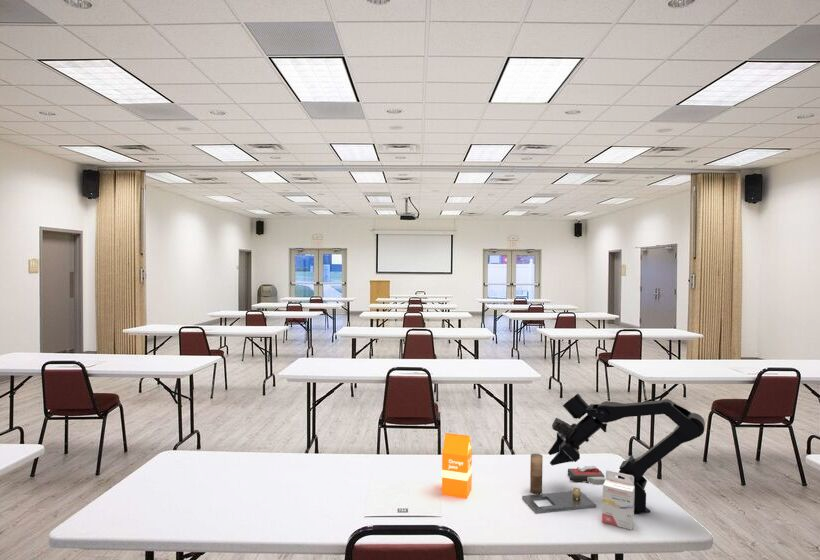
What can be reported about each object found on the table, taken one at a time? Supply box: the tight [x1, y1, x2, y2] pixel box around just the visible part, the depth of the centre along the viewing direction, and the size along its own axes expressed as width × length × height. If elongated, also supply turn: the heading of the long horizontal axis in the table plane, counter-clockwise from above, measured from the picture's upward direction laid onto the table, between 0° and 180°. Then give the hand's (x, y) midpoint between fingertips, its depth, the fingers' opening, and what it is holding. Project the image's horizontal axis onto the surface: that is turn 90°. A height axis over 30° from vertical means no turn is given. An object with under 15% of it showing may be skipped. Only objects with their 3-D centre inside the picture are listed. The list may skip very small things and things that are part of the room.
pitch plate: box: [521, 487, 597, 514], centre depth 159 cm, size 10×21×4 cm, turn 101°
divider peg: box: [529, 453, 544, 495], centre depth 167 cm, size 4×4×12 cm
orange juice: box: [441, 432, 473, 499], centre depth 167 cm, size 8×9×20 cm
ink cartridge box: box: [601, 470, 635, 531], centre depth 147 cm, size 9×5×15 cm, turn 59°
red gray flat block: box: [567, 465, 606, 485], centre depth 177 cm, size 9×4×20 cm
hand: (549, 458), depth 166 cm, fingers open, 9 cm apart
